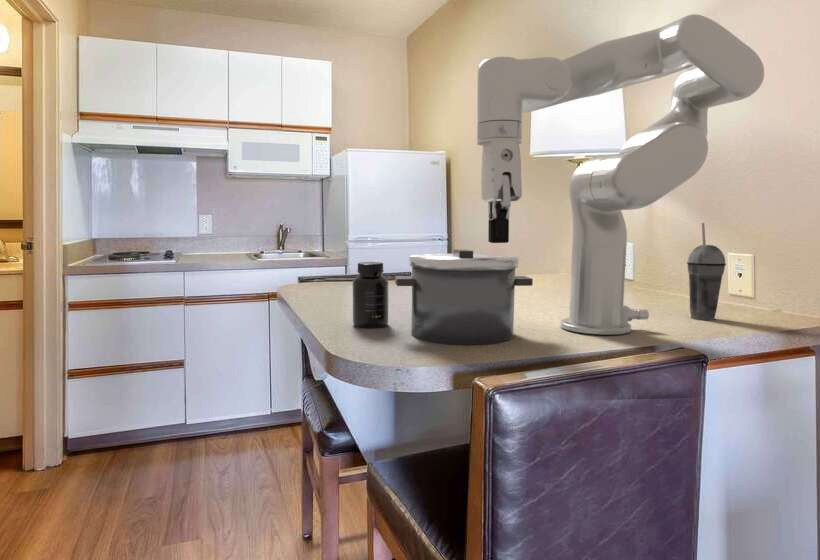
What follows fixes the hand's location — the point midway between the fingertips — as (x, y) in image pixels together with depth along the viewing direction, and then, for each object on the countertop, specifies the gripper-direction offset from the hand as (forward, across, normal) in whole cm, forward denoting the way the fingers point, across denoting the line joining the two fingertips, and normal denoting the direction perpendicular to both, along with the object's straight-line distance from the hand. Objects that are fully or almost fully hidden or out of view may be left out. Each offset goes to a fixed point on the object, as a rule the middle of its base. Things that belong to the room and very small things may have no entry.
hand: (498, 242), depth 97 cm
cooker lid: (+4, +1, +6) cm, 7 cm away
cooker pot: (+16, +1, +6) cm, 17 cm away
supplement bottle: (+16, +10, +22) cm, 29 cm away
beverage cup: (+18, +14, -48) cm, 53 cm away
